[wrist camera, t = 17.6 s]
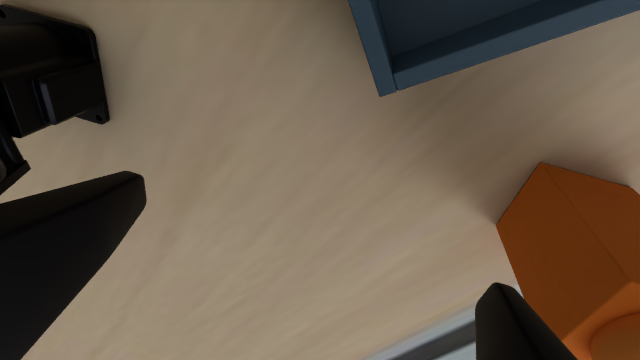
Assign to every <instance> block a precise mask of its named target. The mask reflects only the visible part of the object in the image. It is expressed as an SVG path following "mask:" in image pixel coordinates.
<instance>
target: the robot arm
mask: <svg viewBox="0 0 640 360" xmlns="http://www.w3.org/2000/svg"><path fill="white" fill-rule="evenodd" d="M85 34H86V36H87V38H86V37H85ZM73 117H78V118H81V119H84V120H88V121H91V122H95V123H98V124H105V123H107V122H109V120H110V117H109V111H108V106H107V100H106V94H105V88H104V83H103V77H102V71H101V65H100V60H99V54H98V48H97V42H96V37H95V34H94V32H93V31H92V30H91V29H90V28H88V27H85V26H82V25H78V24H74V23H71V22H67V21H64V20H60V19H56V18H53V17H49V16H45V15H42V14H38V13H35V12H31V11H27V10H24V9H20V8H17V7H13V6H9V5H5V4H3V5H0V195H1V194H2V193H3V192H5V191H6V190H7V189H8V188H9V187H10V186H12V185H13V184H14V183H15V182H16V181H17V180H19V179H20V178H21V177H22V176H23V175H24V174H26V173H27V172H28V171H29V170H30V169H31V168H30V166H29V164H28V162H27V160H24V159H23V157H22V155H21V153H20V151H19V149H18V148H17V146H16V144H15V142H14V140H13V138H14V137H16V138H22V137H25V136H27V135H29V134H32V133H34V132H36V131H39V130H41V129H43V128H46V127H48V126H50V125H57V124H59V123H61V122H63V121H66V120H68V119H70V118H73ZM101 117H102V118H101ZM145 205H146V191H145V183H144V178H143V177H142V176H141V175H140V174H137V173H133V172H130V171H122V172H118V173H114V174H111V175H107V176H103V177H99V178H96V179H92V180H88V181H84V182H81V183H77V184H73V185H69V186H65V187H62V188H58V189H54V190H50V191H47V192H43V193H39V194H35V195H32V196H28V197H24V198H20V199H17V200H13V201H9V202H5V203H2V204H0V360H21V359H22V357H23V356H24V355H25V354H26V353H27V352H28V351H29V349H30V348H31V347H32V346H33V345H34V344H35V343H36V341H37V340H38V339H39V338H40V337H41V336H42V335H43V333H44V332H45V331H46V330H47V329H48V328H49V326H50V325H51V324H52V323H53V322H54V321H55V320H56V318H57V317H58V316H59V315H60V314H61V313H62V312H63V310H64V309H65V308H66V307H67V306H68V305H69V304H70V302H71V301H72V300H73V299H74V298H75V297H76V296H77V294H78V293H79V292H80V291H81V290H82V289H83V287H84V286H85V285H86V284H87V283H88V282H89V281H90V279H91V278H92V277H93V276H94V275H95V274H96V273H97V271H98V270H99V269H100V268H101V267H102V266H103V264H104V263H105V262H106V261H107V260H108V258H109V257H110V256H111V255H112V253H113V252H114V251H115V249H116V248H117V246H118V245H119V244H120V242H121V241H122V239H123V238H124V237H125V235H126V234H127V232H128V231H129V229H130V228H131V227H132V225H133V224H134V222H135V221H136V220H137V218H138V217H139V215H140V214H141V212H142V211H143V209H144V208H145ZM475 327H476V360H578V359H577V358H576V357H575V356H574V355H573V353H572V352H571V351H570V350H569V349H568V348H567V347H566V346H565V345H564V343H563V342H562V341H561V340H560V339H559V338H558V337H557V336H556V334H555V333H554V332H553V331H552V330H551V329H550V328H549V327H548V325H547V324H546V323H545V322H544V321H543V320H542V319H541V318H540V317H539V315H538V314H537V313H536V312H535V311H534V310H533V309H532V308H531V306H530V305H529V304H528V303H527V302H526V301H525V300H524V299H523V297H522V296H521V295H520V294H519V293H518V292H517V291H516V290H515V289H514V288H513V287H511V286H508V285H505V284H501V283H497V282H495V283H493V284H492V285H491V286H490V287H489V288H488V289H487V291H486V292H485V293H484V294H483V296H482V297H481V298H480V299H479V301H478V302H477V304H476V308H475Z"/></svg>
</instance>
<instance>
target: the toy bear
mask: <svg viewBox="0 0 640 360" xmlns="http://www.w3.org/2000/svg"><path fill="white" fill-rule="evenodd" d="M496 228H497V230H498V233H499V235H500V238H501V241H502V243H503V246H504V248H505V251H506V253H507V256H508V259H509V261H510V264H511V266H512V269H513V271H514V274H515V276H516V279H517V282H518V284H519V287H520V289H521V292H522V294H523V297H524V300H525V301H526V302H527V303H528V304H529V305H530V306H531V308H532V309H533V310H534V311H535V312H536V313H537V314H538V315H539V317H540V318H541V319H542V320H543V321H544V322H545V323H546V324H547V325H548V327H549V328H550V329H551V330H552V331H553V332H554V333H555V334H556V336H557V337H558V338H559V339H560V340H561V341H562V342H563V343H564V345H565V346H566V347H567V348H568V349H569V350H570V351H571V352H572V353H573V355H574V356H575V357H576V358H577V359H578V360H640V195H639V194H638V193H637V192H636V191H635V190H634V189H633V188H630V187H627V186H623V185H620V184H616V183H612V182H609V181H605V180H602V179H598V178H594V177H591V176H587V175H584V174H580V173H577V172H573V171H569V170H566V169H562V168H559V167H555V166H551V165H548V164H544V163H540V164H539V165H538V166H537V168H536V169H535V171H534V172H533V174H532V175H531V176H530V178H529V179H528V181H527V182H526V184H525V185H524V186H523V188H522V189H521V191H520V192H519V194H518V195H517V196H516V198H515V199H514V201H513V202H512V204H511V205H510V206H509V208H508V209H507V211H506V212H505V213H504V215H503V216H502V218H501V219H500V221H499V222H498V223H497V225H496Z"/></svg>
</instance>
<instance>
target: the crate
mask: <svg viewBox="0 0 640 360" xmlns="http://www.w3.org/2000/svg"><path fill="white" fill-rule="evenodd" d="M348 2H349V5H350V8H351V11H352V14H353V17H354V20H355V23H356V26H357V29H358V32H359V35H360V38H361V42H362V45H363V48H364V51H365V54H366V57H367V60H368V63H369V66H370V69H371V72H372V75H373V78H374V81H375V84H376V87H377V90H378V93H379V96H380V97H382V96H385V95H388V94H391V93H394V92H396V91H397V90H402V89H405V88H408V87H411V86H414V85H417V84H420V83H423V82H426V81H429V80H432V79H435V78H438V77H441V76H444V75H447V74H450V73H453V72H456V71H459V70H462V69H465V68H468V67H471V66H474V65H477V64H480V63H483V62H486V61H489V60H492V59H495V58H498V57H501V56H504V55H507V54H510V53H513V52H516V51H519V50H522V49H525V48H528V47H531V46H533V45H536V44H539V43H542V42H545V41H548V40H551V39H554V38H557V37H560V36H563V35H566V34H569V33H572V32H575V31H578V30H581V29H584V28H587V27H590V26H593V25H596V24H599V23H602V22H605V21H608V20H611V19H614V18H617V17H620V16H623V15H626V14H629V13H632V12H635V11H638V10H640V0H348Z"/></svg>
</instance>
